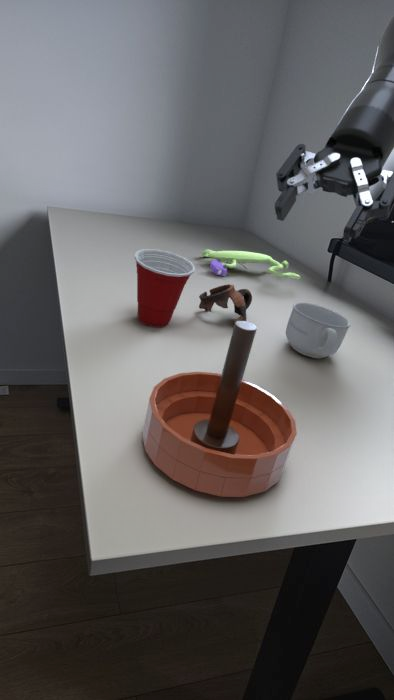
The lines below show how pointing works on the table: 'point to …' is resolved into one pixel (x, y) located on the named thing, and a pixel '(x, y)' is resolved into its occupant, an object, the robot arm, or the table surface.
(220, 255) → the figurine
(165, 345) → the table surface
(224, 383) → the brown rod with base
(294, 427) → the bowl
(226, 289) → the brown curved piece
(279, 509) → the table surface
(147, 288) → the plastic cup
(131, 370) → the table surface
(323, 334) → the teacup
